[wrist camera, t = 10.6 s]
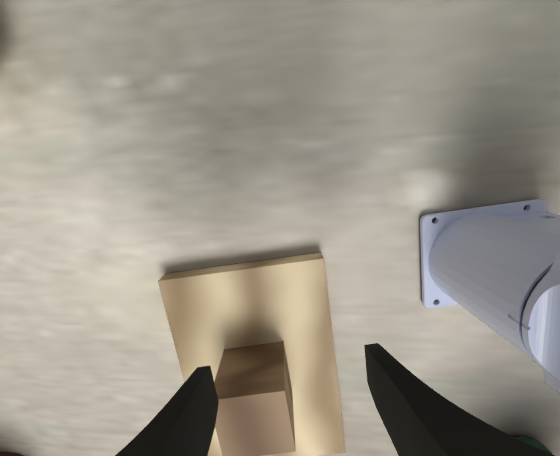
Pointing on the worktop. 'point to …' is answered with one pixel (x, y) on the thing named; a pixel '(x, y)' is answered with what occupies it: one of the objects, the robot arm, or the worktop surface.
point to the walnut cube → (255, 401)
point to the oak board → (264, 334)
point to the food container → (9, 454)
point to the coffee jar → (533, 443)
